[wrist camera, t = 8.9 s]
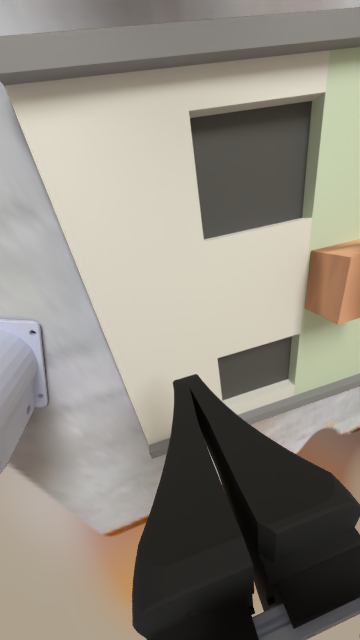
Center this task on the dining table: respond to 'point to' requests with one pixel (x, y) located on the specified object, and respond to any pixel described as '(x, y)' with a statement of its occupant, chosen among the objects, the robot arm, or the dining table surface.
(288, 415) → the dining table surface
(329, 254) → the block
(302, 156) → the sectioned serving tray
